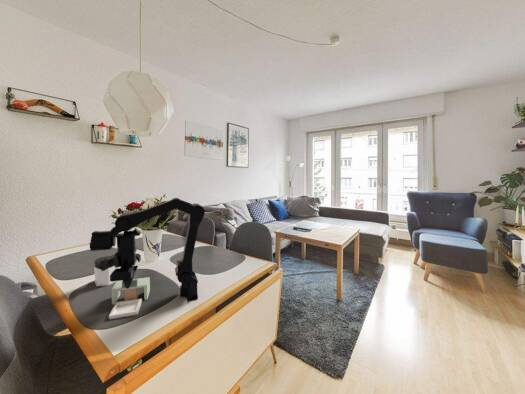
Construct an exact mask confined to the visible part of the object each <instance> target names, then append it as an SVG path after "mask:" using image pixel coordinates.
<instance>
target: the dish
mask: <svg viewBox="0 0 525 394" xmlns="http://www.w3.org/2000/svg"><path fill="white" fill-rule="evenodd" d="M142 302H143V298H137V299H134V300H127V301H124V300H121V301H117V302H116V303H115V304H113V307H112V309H111V311H110V313H109V315H108V320H114V319H115V320H116V319H120V318H126V317H132V316H138V314H139V312H140V308H141V306H142Z"/></svg>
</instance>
